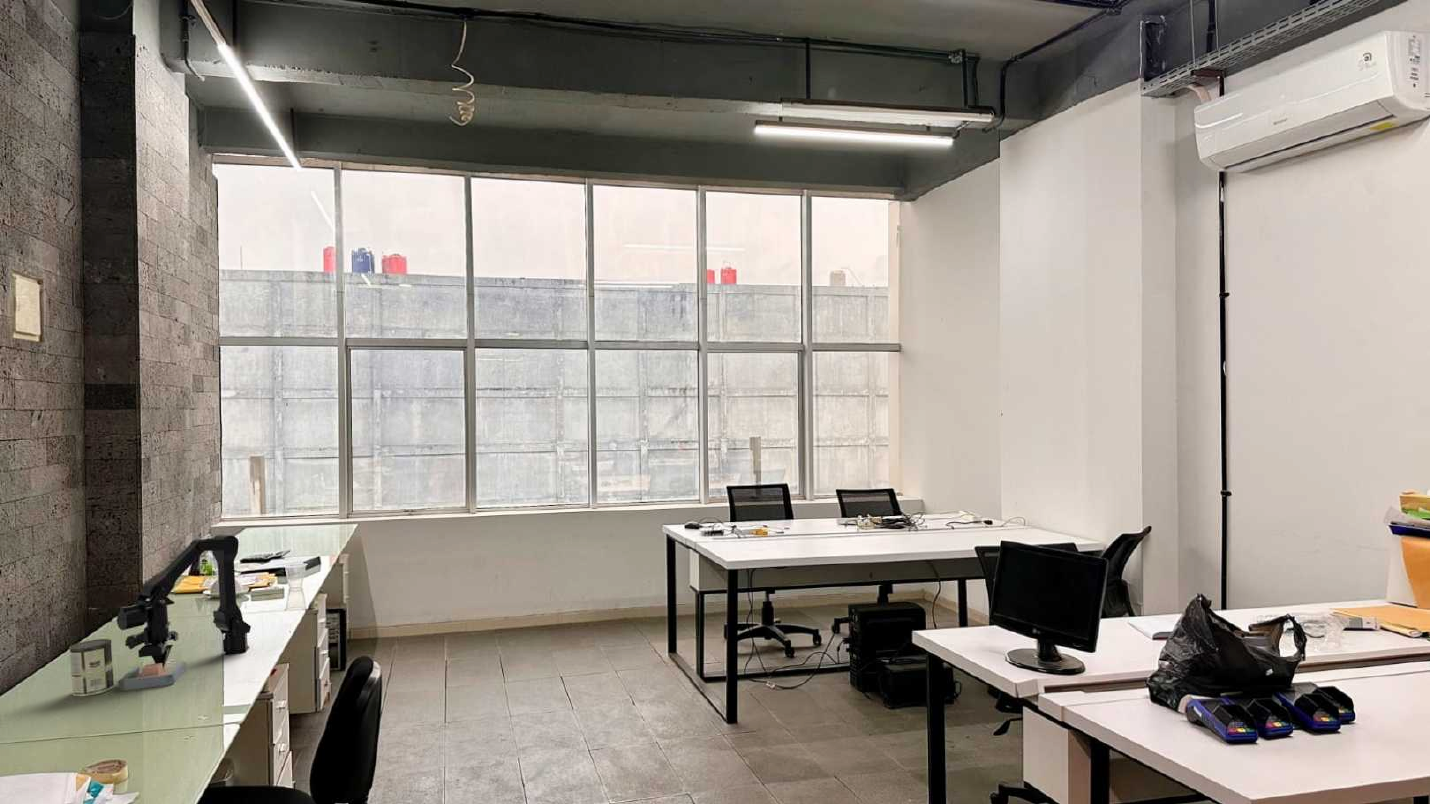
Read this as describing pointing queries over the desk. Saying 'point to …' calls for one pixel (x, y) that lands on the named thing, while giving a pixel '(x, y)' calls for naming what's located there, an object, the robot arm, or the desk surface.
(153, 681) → the dock
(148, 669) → the salmon pink block
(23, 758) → the desk surface
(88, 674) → the coffee can
